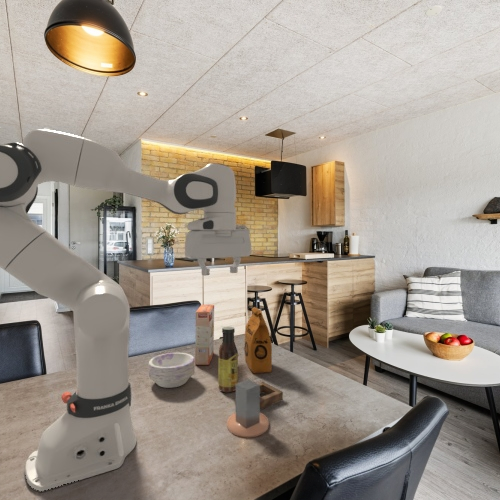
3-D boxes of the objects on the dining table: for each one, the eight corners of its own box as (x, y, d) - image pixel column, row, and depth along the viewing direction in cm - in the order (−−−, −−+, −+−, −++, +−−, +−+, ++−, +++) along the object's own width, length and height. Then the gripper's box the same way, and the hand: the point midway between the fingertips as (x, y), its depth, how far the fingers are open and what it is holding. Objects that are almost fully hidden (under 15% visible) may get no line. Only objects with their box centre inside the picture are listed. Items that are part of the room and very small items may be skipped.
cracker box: (210, 365, 126) (210, 311, 126) (194, 365, 127) (194, 311, 126) (214, 352, 140) (214, 304, 140) (200, 352, 140) (200, 304, 140)
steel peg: (246, 428, 84) (246, 390, 83) (235, 421, 87) (235, 383, 87) (259, 422, 87) (259, 385, 86) (248, 415, 90) (248, 379, 90)
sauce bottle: (234, 394, 104) (235, 331, 103) (215, 392, 105) (215, 330, 104) (239, 385, 110) (239, 326, 109) (221, 383, 111) (221, 325, 111)
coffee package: (247, 375, 118) (247, 314, 117) (243, 361, 130) (243, 306, 130) (274, 373, 120) (275, 313, 119) (267, 360, 132) (268, 306, 131)
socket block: (260, 409, 95) (260, 401, 94) (241, 397, 101) (241, 389, 101) (282, 399, 100) (282, 391, 100) (262, 389, 107) (263, 381, 107)
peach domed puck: (244, 442, 79) (244, 439, 79) (218, 422, 88) (218, 419, 88) (277, 426, 86) (277, 423, 86) (250, 409, 95) (250, 406, 95)
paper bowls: (168, 370, 122) (168, 348, 122) (203, 377, 116) (203, 355, 116) (138, 386, 109) (138, 363, 108) (176, 396, 102) (175, 371, 102)
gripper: (242, 225, 100) (242, 270, 101) (181, 223, 87) (182, 275, 88) (256, 224, 95) (255, 272, 96) (193, 222, 82) (194, 278, 83)
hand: (220, 274), depth 92 cm, fingers open, 8 cm apart
